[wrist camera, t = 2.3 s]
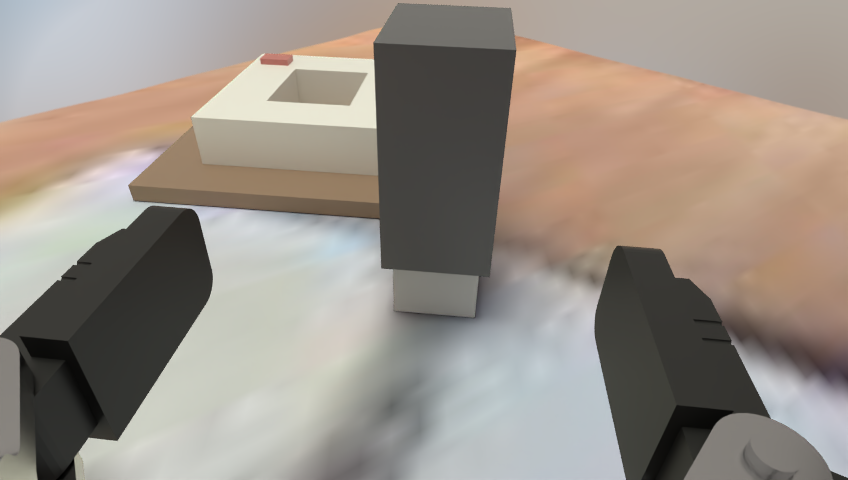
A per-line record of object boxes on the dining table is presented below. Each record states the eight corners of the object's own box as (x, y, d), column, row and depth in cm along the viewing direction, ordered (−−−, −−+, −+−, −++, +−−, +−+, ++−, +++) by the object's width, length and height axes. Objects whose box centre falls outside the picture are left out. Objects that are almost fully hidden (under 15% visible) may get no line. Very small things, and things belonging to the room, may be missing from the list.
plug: (484, 251, 28) (511, 8, 21) (483, 326, 23) (516, 50, 16) (400, 245, 28) (397, 3, 21) (383, 317, 24) (373, 42, 17)
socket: (460, 101, 44) (463, 46, 42) (445, 223, 30) (449, 151, 27) (248, 88, 45) (238, 35, 43) (133, 200, 31) (108, 129, 28)
